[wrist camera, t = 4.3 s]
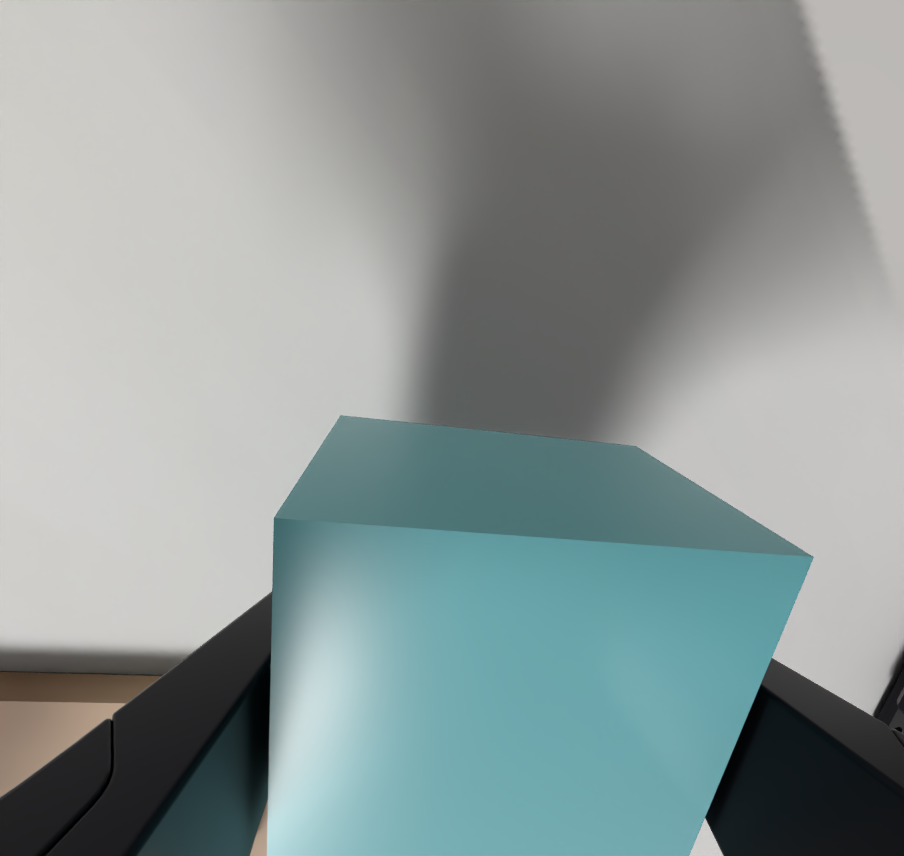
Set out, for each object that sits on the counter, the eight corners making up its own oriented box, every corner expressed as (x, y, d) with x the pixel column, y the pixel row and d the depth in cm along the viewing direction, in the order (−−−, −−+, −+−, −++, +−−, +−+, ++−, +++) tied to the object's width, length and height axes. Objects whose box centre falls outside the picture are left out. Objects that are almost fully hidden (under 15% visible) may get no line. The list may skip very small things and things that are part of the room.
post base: (512, 684, 15) (540, 791, 12) (469, 884, 18) (481, 1015, 15) (-125, 668, 13) (-317, 798, 9) (-56, 903, 16) (-183, 1066, 12)
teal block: (636, 446, 9) (813, 556, 5) (574, 676, 10) (671, 896, 6) (340, 415, 8) (273, 518, 4) (324, 669, 9) (265, 914, 6)
